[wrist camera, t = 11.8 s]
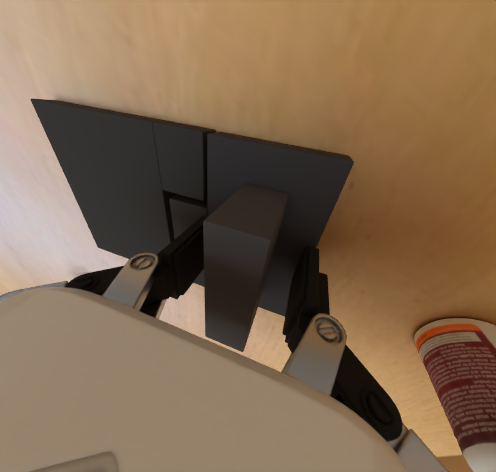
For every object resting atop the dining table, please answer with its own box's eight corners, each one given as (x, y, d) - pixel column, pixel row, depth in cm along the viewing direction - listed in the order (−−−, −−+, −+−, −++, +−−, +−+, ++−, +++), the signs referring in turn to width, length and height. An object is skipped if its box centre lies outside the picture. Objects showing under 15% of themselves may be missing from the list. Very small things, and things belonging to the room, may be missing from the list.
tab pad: (176, 123, 11) (61, 127, 6) (349, 155, 9) (387, 199, 4) (189, 267, 18) (140, 322, 13) (288, 302, 16) (275, 382, 11)
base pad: (57, 100, 12) (29, 98, 11) (216, 129, 10) (202, 131, 9) (111, 239, 19) (97, 247, 18) (213, 275, 17) (205, 287, 16)
